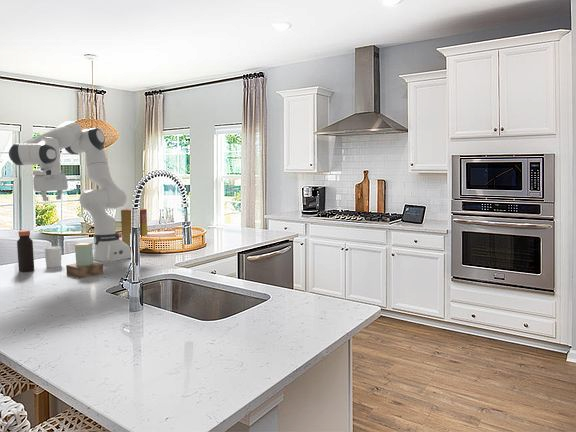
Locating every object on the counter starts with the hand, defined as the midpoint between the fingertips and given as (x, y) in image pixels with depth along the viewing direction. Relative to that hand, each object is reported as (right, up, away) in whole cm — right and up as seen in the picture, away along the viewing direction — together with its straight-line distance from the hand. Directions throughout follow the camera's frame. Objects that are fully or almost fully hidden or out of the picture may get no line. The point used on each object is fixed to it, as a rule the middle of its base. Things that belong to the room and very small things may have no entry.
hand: (52, 200), depth 229 cm
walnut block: (+17, -36, -3) cm, 40 cm away
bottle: (-15, -35, +5) cm, 39 cm away
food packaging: (+19, -29, +66) cm, 75 cm away
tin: (+17, -31, -3) cm, 36 cm away
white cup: (-7, -34, +15) cm, 38 cm away
